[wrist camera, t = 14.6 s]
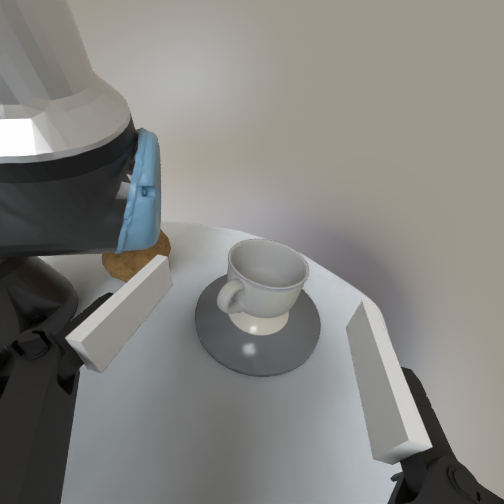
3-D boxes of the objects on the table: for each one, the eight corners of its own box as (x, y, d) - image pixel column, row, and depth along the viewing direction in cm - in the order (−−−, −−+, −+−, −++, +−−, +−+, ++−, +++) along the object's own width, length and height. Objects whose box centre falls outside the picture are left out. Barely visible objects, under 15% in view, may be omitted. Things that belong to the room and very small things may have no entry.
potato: (172, 246, 43) (168, 211, 38) (173, 291, 32) (167, 249, 28) (120, 250, 40) (109, 213, 35) (101, 302, 29) (81, 256, 24)
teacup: (263, 270, 37) (269, 231, 33) (311, 307, 30) (326, 265, 26) (193, 302, 29) (189, 256, 25) (237, 362, 22) (242, 314, 18)
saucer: (175, 299, 30) (174, 293, 30) (263, 263, 41) (264, 259, 40) (244, 415, 19) (245, 411, 18) (343, 326, 29) (345, 322, 29)
